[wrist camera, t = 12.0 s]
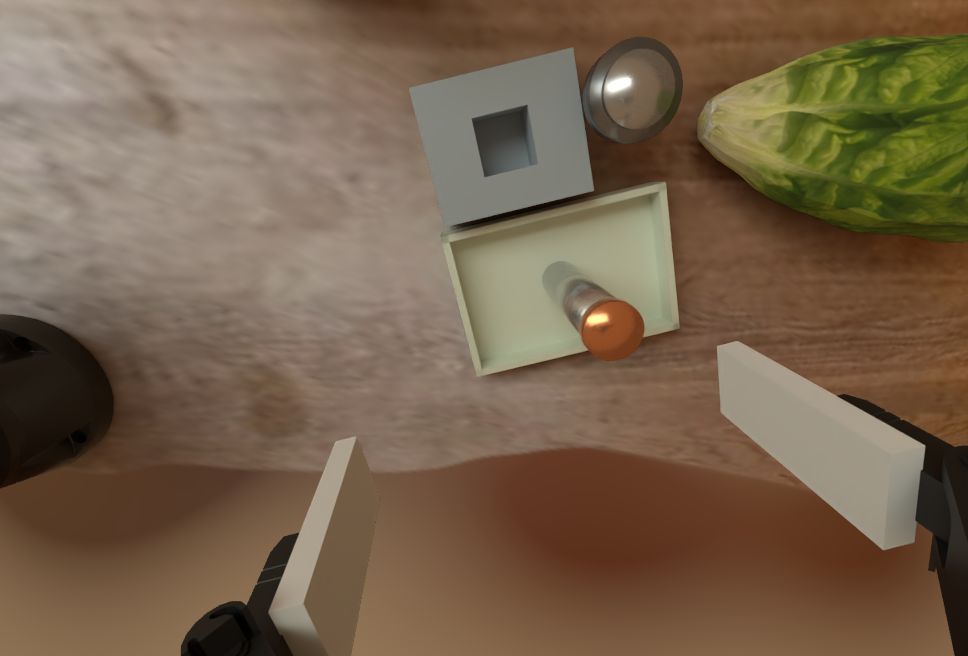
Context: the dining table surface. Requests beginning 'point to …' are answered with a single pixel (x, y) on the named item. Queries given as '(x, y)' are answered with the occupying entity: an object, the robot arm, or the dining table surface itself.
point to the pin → (594, 312)
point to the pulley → (632, 91)
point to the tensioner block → (504, 137)
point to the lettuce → (856, 135)
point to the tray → (550, 238)
